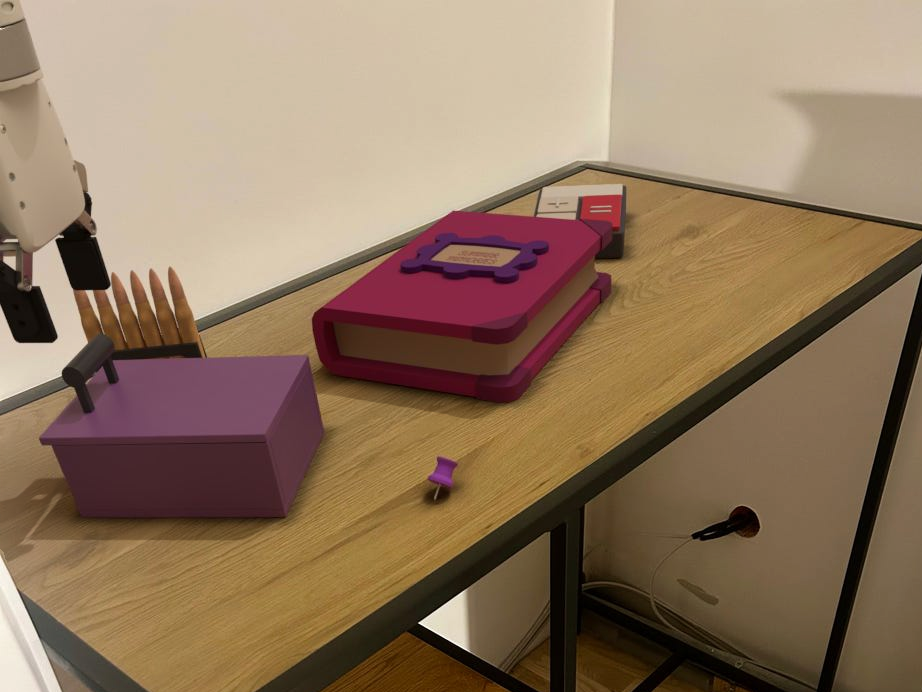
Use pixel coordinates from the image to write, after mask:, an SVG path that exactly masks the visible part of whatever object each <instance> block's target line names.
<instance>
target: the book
mask: <svg viewBox="0 0 922 692" xmlns="http://www.w3.org/2000/svg"><path fill="white" fill-rule="evenodd" d="M611 241H612V222H609V221H605V220H591V219H580V220H572V219H559V218H545V217H534V216H533V215H532V216H531V215H517V214H505V213H490V212H480V211H479V212H477V211H464V210H452V211H451V212H449V213H447V214H446V215H445V216H443V217H442V218H440V219H439V220H438V221H436V222H435V223H433V225H431V226H430V227H428V228H427V229H426V230H424V231H423V232H421V233H420V234H419V235H418V236H416V237H415V238H413V239H412V240H411V241H409V242H408V243H406V244H405V245H404V246H402V247H401V248H400V249H398V250H397V251H396V252H395V253H393V254H392V255H391V256H389V257H388V258H386V259H385V260H384V261H382V262H380V263H379V264H378V265H377V266H376V267H374V268H373V269H371V270H370V271H369V272H367V273H366V274H364V275H363V276H361V278H358V280H356V281H355V282H353V283H352V284H351V285H349V286H348V287H346V289H344V290H343V291H341V292H340V293H339V294H337V295H336V296H334V297H333V298H332V299H330V300H329V301H327V302H326V303H324V305H322V306H320V307H319V308H318V309H317V310H315V311H314V313H313V315H312V317H311V330H312V335H313V340H314V345H315V349H316V353H317V355H318V360H319V362H320V363H321V365H323V367H324V368H325V370H327V371H329V372H330V373H331V374H332V375H334V376H339V377H347V378H353V379H360V380H366V381H372V382H378V383H385V384H392V385H397V386H405V387H410V388H418V389H424V390H430V391H437V392H444V393H450V394H456V395H462V396H469V397H476V400H483V401H489V402H495V403H511V402H514V401H516V400H519V399H520V398H521V396H522V395H523V394H524V393H525V392H526V391H527V390H528V389H529V387H530V386H531V385H532V379H534V377H536V376H537V374H538V373H539V372H540V371H541V370H542V368H543V367H544V366H545V365H546V364H547V363H548V362H549V361H550V360H551V358H552V357H553V356H554V355H555V354H556V353H557V352H558V351H559V349H560V348H561V347H562V346H563V345H564V343H566V341H567V340H569V338H570V337H571V336H572V334H574V332H575V331H576V330H577V329H578V328H579V327H580V326H581V324H582V323H583V322H584V321H585V320H586V319H587V318H588V316H589V315H590V314H592V312H593V311H594V310H595V309H596V308H597V306H599V304H602V303H603V302H604V301H605V300H606V299H607V298H608V297H609V295H610V294H611V293H612V274H609V273H607V272H603V271H602V272H600V271H597V270H596V268H595V267H596V266H595V265H596V260H595V255H596V254H597V253H598V252H599V251H602V250H603V249H604V248H605V247H606V246H607V245H608V244H609V243H610V242H611Z"/></svg>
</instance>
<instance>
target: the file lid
mask: <svg viewBox="0 0 922 692" xmlns="http://www.w3.org/2000/svg"><path fill="white" fill-rule="evenodd" d="M114 349H115V346H114V342H113V341H112V339H111V338H110V337H108V336H107V335H105V334H97V335H95V336H94V337H93V338H92V339H91V340H90V341H89V342H88V341H87V343H86V344H85V345H84V346H83V347H82V348H81V349H80V351H78V353H77V354H75V356H74V357H73V358H72V359H71V360H70V361H69V362H68V363H67V364H66V365H65V367H63V368H62V369H61V378H62V380H63V382H64V383H65V384H66V385H67V386H69V387H71V388H73V389H74V392H75V394H76V395H75V396H74V397H73V399H72V400H71V401H70V402H69V403H68V405H66V406H65V408H64V409H63V410H62V411H61V412H60V413H59V414H58V415H57V417H56V418H55V419H54V420H53V421H52V422H51V423H50V425H48V427H47V428H46V429H45V430H44V431H43V432H42V434H40V436H38V440H39V443H40V445H41V446H52V445H108V444H173V443H238V442H267V440H268V438H269V437H270V435H271V433H272V431H273V429H274V427H275V425H276V424H277V422H278V420H279V418H280V416H281V414H282V413H283V411H284V409H285V407H286V405H287V403H288V401H289V400H290V398H291V396H292V394H293V392H294V390H295V388H296V387H297V385H298V383H299V381H300V379H301V377H302V375H303V374H304V372H305V370H306V368H307V366H308V364H309V363H311V360H310V356H309V354H289V355H287V354H286V355H285V354H284V355H255V356H254V355H252V356H221V357H207V358H178V359H142V360H112V357H111V354H112V353H113V352H114ZM101 365H102V367H101V369H100V370H99V371H98V372H97V373H96V371H97V370H98V368H99V367H100V366H101Z"/></svg>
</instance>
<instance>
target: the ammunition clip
mask: <svg viewBox="0 0 922 692" xmlns="http://www.w3.org/2000/svg"><path fill="white" fill-rule="evenodd" d="M167 279H168V281H167V282H168V288H169V291H170V295H171V300H172V305H173V309H172V307H171V305H170V303H169V300H168V298H167V294H166V292H165V289H164V286H163V284H162V282H161V279H160V278H159V276H158V274H157V272H155V270H154V269H153V268H149V271H148V280H149V281H148V282H149V288H150V294H151V297H152V300H153V304H154V305H153V306H154V309H155V312H154V310H153V308H152V306H151V303H150V301H149V298H148V296H147V292H146V290H145V288H144V285H143V283H142V281H141V279H140V277H139V276H138V275H137V273H136V272H135V271H134V270H133V269H132V270H130V273H129V281H130V282H129V283H130V290H131V293H132V297H133V300H134V306H135V310H136V312H135V311H134V310H133V309H134V308H133V307H132V304H131V301H130V300H129V297H128V294H127V291H126V289H125V286H124V285H123V283H122V281H121V279H120V278H119V276H118V275H117V273H115V272H114V271H112V272H111V275H110V282H111V290H112V295H113V299H114V301H115V306H116V309H117V314H118V316H117V314H116V312H115V311H114V308H113V305H112V303H111V301H110V298H109V296H108V294H107V290H92V293H93V298H94V301H95V304H96V308H97V311H98V314H99V318H98V316H97V315H96V313H95V310H94V307H93V305H92V303H91V301H90V299H89V296H88V294H87V290H74V289H72V292H73V295H74V300H75V303H76V306H77V310H78V313H79V317H80V324H81V327H82V330H83V332H84V335H85V339H86V341H87V343H88V342H89V341H90V340H91V339H92V338H93V337H94V336H95V335H97V334H105V335H107V336H108V337H110V338H111V339H112V341H113V342H114V346H115V349H114V352H113V353H112V354H111V357H112V360H142V359H178V358H208V355H207V353H206V349H205V346H204V343H203V341H202V340H203V339H202V338H201V335H200V334H199V331H198V327H197V324H196V320H195V317H194V314H193V311H192V308H191V306H190V304H189V301H188V299H187V296H186V293H185V291H184V288H183V285H182V282H181V280H180V278H179V276H178V274H177V273H176V270H175V269H174V268H173V267H172V266H168V270H167ZM173 310H174V312H173ZM101 367H102V365H101V366H100V367H99V368H98V370H97V371H96V372H95V374H96V373H97V372H98V371H99V370H100V369H101Z"/></svg>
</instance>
